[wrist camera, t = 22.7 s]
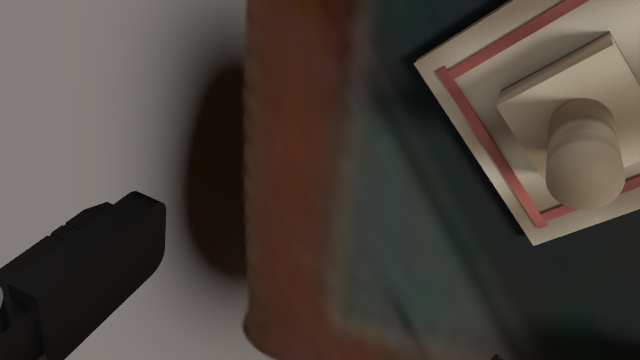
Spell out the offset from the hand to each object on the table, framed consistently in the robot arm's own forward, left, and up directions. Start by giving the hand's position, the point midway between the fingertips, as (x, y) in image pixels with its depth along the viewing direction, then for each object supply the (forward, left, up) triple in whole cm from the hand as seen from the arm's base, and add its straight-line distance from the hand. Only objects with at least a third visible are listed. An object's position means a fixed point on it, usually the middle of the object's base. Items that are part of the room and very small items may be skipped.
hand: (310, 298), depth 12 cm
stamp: (+6, +3, -22) cm, 23 cm away
